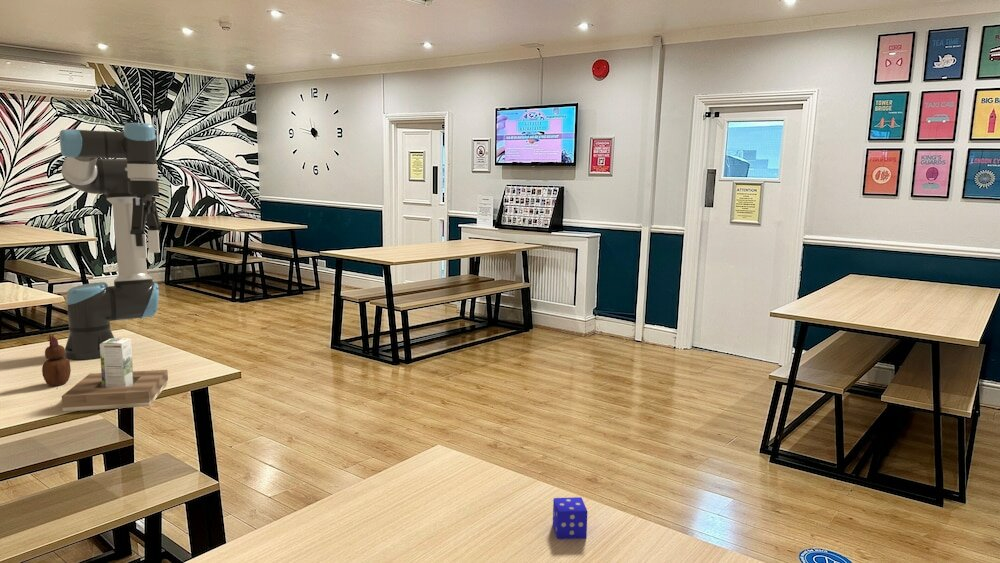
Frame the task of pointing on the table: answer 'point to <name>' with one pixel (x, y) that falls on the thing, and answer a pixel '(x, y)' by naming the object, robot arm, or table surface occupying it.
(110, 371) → the syrup box
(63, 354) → the wooden figurine
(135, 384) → the socket block
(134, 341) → the table surface
